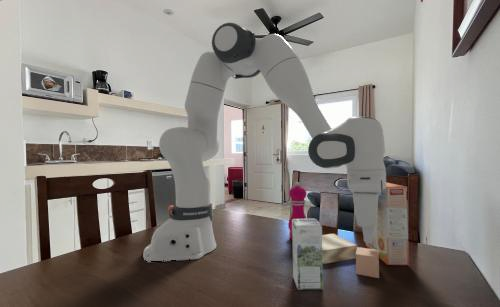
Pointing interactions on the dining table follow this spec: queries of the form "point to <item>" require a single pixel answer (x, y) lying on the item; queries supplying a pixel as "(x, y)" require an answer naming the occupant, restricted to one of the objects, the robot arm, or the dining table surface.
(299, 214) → the pepper mill
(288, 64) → the robot arm
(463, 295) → the dining table surface
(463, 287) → the dining table surface
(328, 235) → the birch block
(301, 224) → the syrup box
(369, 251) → the terracotta cube
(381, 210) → the cracker box
